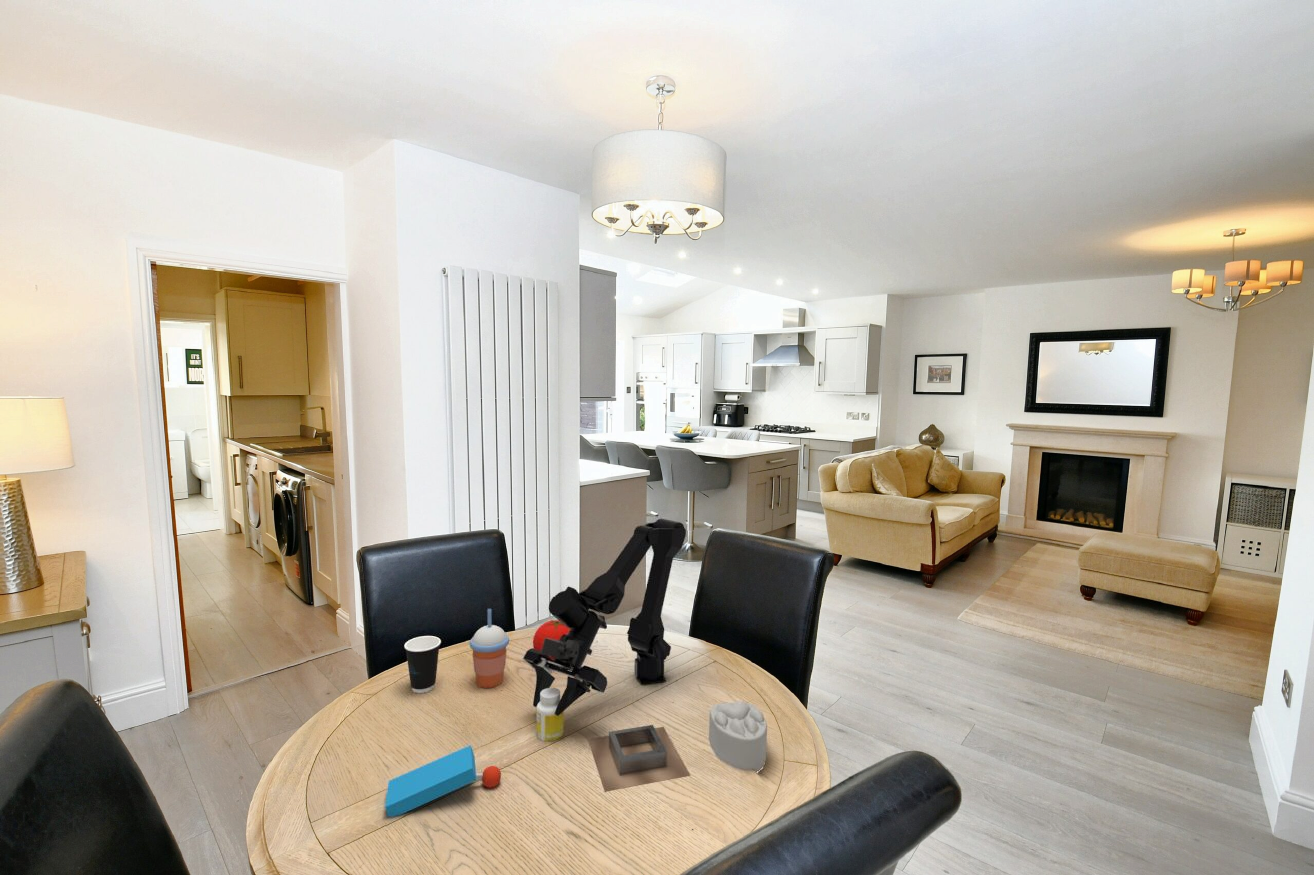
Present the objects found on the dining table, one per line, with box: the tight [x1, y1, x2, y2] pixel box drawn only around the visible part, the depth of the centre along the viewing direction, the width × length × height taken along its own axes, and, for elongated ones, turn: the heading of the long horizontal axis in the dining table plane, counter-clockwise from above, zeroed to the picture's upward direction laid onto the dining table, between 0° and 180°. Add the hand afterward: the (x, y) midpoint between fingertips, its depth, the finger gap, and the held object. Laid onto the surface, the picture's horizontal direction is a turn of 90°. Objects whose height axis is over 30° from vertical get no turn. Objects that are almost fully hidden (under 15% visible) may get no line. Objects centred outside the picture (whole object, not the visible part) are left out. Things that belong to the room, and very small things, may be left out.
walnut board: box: [587, 726, 692, 793], centre depth 113 cm, size 16×16×1 cm
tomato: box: [532, 619, 570, 660], centre depth 154 cm, size 12×12×10 cm
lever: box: [384, 744, 502, 818], centre depth 104 cm, size 7×7×18 cm
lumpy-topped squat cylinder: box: [708, 700, 768, 773], centre depth 116 cm, size 10×13×9 cm
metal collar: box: [608, 724, 667, 775], centre depth 113 cm, size 9×9×3 cm
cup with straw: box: [469, 608, 510, 689], centre depth 142 cm, size 9×9×18 cm
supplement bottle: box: [535, 687, 565, 742], centre depth 120 cm, size 5×5×10 cm
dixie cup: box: [403, 635, 442, 694], centre depth 138 cm, size 8×8×11 cm
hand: (545, 710), depth 118 cm, fingers closed on supplement bottle, 5 cm apart
